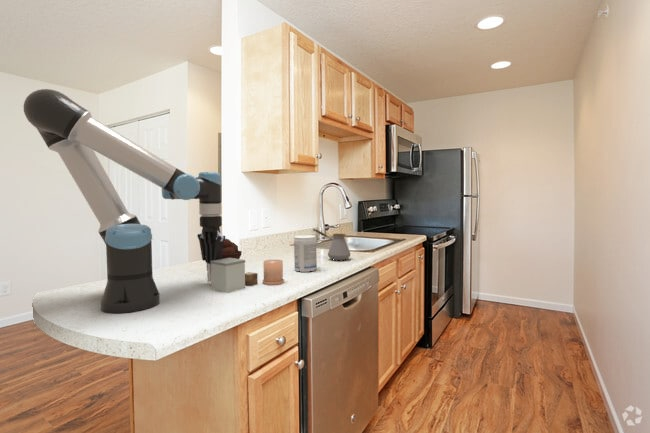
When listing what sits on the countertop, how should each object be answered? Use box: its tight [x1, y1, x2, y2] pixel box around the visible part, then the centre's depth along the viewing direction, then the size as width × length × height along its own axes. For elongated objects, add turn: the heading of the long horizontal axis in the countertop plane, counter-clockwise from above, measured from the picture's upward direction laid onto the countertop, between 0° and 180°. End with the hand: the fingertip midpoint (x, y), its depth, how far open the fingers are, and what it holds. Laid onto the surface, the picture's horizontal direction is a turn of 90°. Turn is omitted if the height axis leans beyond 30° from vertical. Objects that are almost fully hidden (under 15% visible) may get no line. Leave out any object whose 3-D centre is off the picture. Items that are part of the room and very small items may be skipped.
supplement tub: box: [293, 234, 318, 273], centre depth 153 cm, size 10×10×15 cm
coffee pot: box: [312, 228, 351, 261], centre depth 181 cm, size 21×12×15 cm, turn 61°
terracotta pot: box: [262, 259, 285, 286], centre depth 132 cm, size 8×8×8 cm
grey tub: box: [210, 258, 246, 294], centre depth 123 cm, size 8×8×10 cm
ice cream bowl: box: [221, 238, 243, 259], centre depth 143 cm, size 11×11×15 cm
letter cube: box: [245, 272, 259, 287], centre depth 129 cm, size 4×4×4 cm
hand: (211, 280), depth 129 cm, fingers closed
